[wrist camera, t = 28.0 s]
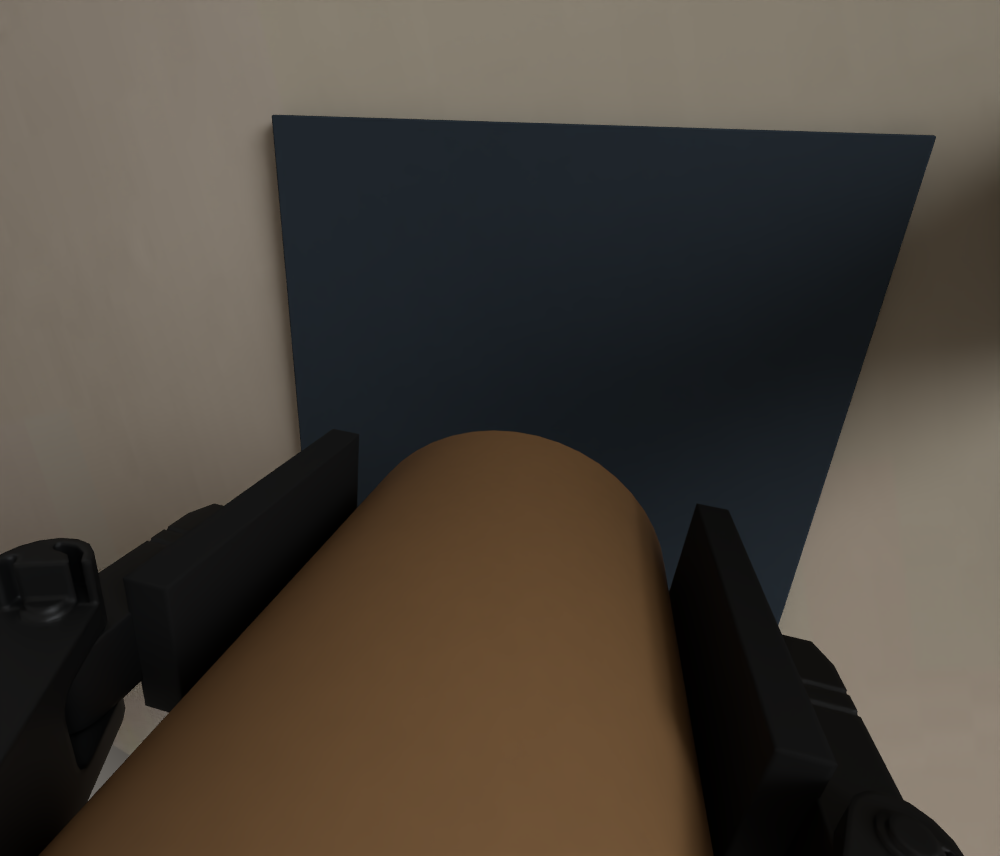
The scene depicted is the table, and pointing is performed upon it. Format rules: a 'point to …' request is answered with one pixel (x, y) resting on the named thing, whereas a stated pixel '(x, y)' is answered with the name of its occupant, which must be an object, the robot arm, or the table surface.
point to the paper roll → (437, 685)
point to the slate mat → (597, 300)
